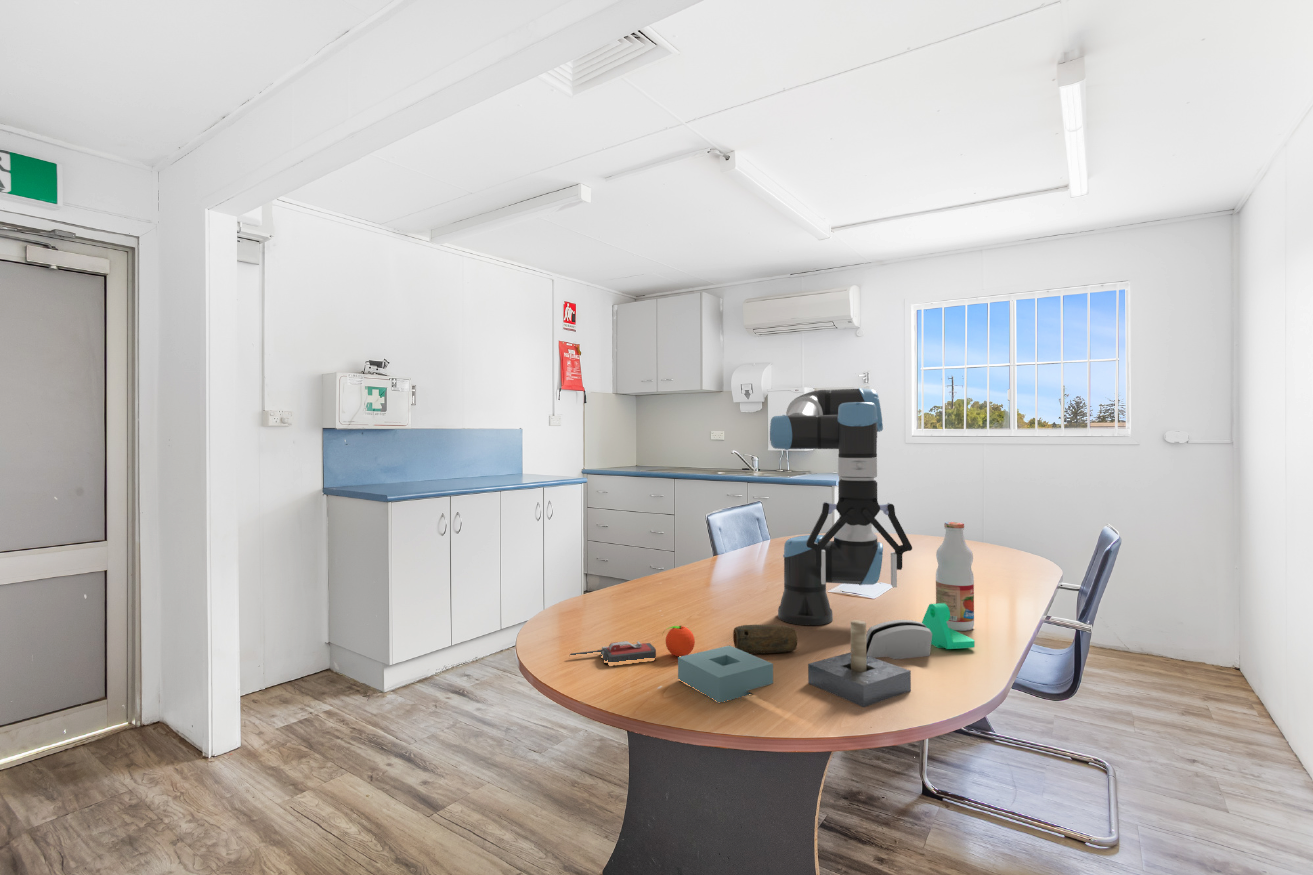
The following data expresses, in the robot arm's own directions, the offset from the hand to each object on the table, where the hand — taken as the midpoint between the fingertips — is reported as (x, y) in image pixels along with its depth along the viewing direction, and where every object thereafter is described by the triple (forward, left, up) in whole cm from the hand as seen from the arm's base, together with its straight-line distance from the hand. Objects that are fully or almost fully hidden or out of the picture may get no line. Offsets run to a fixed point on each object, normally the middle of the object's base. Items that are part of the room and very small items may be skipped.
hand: (858, 584), depth 130 cm
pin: (0, 0, -21) cm, 21 cm away
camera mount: (-8, +43, -22) cm, 49 cm away
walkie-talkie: (-44, -32, -22) cm, 59 cm away
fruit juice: (-16, +58, -22) cm, 64 cm away
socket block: (-18, -20, -22) cm, 34 cm away
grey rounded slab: (-9, +24, -22) cm, 34 cm away
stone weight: (-29, +1, -22) cm, 36 cm away
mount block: (0, 0, -22) cm, 22 cm away
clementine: (-38, -18, -22) cm, 48 cm away
